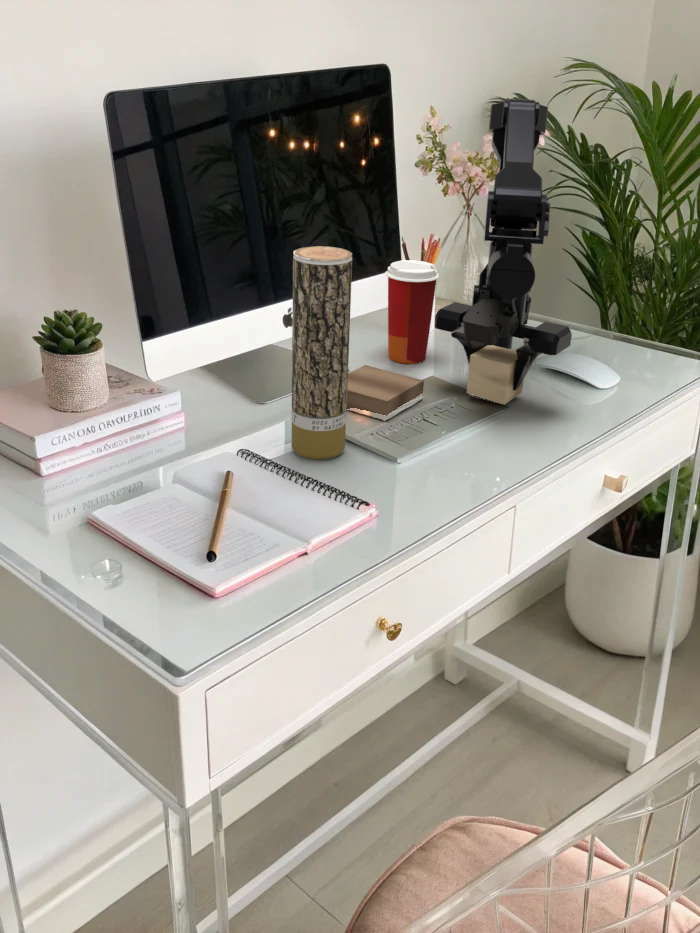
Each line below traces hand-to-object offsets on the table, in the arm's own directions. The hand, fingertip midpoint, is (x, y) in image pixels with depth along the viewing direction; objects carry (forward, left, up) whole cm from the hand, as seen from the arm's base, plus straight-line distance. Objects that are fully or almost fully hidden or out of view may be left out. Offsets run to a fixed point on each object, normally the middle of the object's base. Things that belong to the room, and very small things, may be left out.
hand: (495, 384), depth 133 cm
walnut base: (+12, -13, -2) cm, 18 cm away
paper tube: (+30, -10, -2) cm, 32 cm away
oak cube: (0, 0, -1) cm, 1 cm away
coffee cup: (-7, -19, -2) cm, 20 cm away
